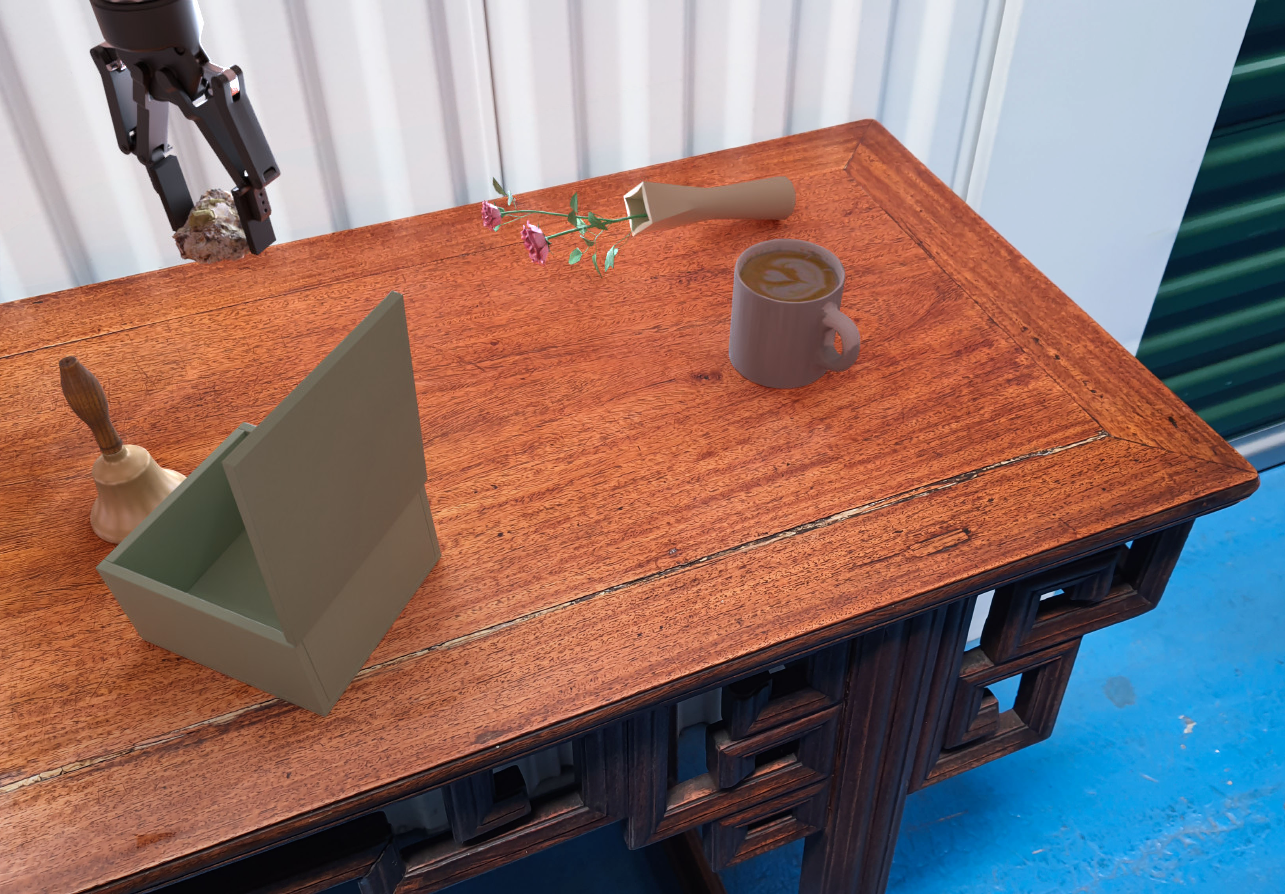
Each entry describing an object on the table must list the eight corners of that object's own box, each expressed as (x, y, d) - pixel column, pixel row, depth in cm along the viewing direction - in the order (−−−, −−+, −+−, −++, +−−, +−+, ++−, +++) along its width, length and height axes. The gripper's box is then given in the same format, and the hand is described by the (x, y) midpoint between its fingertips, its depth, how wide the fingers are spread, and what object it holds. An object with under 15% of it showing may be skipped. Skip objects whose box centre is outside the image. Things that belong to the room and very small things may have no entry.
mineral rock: (264, 241, 88) (164, 230, 85) (262, 283, 91) (166, 273, 88) (269, 183, 96) (177, 171, 93) (267, 222, 98) (178, 212, 96)
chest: (141, 639, 74) (94, 567, 68) (273, 495, 84) (243, 421, 78) (325, 718, 70) (293, 648, 63) (442, 556, 80) (424, 482, 73)
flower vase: (773, 289, 116) (497, 326, 99) (728, 212, 121) (457, 235, 104) (821, 217, 107) (524, 245, 90) (769, 137, 112) (479, 149, 95)
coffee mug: (708, 342, 98) (713, 258, 91) (790, 311, 101) (801, 227, 94) (789, 424, 90) (801, 339, 83) (875, 387, 93) (894, 301, 86)
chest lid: (220, 461, 50) (233, 467, 50) (392, 289, 60) (403, 293, 60) (286, 642, 63) (296, 647, 63) (418, 476, 73) (428, 479, 73)
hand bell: (144, 459, 87) (68, 315, 76) (216, 489, 85) (148, 345, 73) (69, 524, 82) (-26, 380, 71) (143, 559, 79) (58, 415, 68)
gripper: (281, -11, 76) (342, 240, 92) (71, -53, 82) (163, 191, 98) (215, 26, 71) (292, 285, 87) (-4, -22, 77) (106, 230, 93)
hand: (224, 235), depth 92 cm, fingers closed on mineral rock, 8 cm apart
